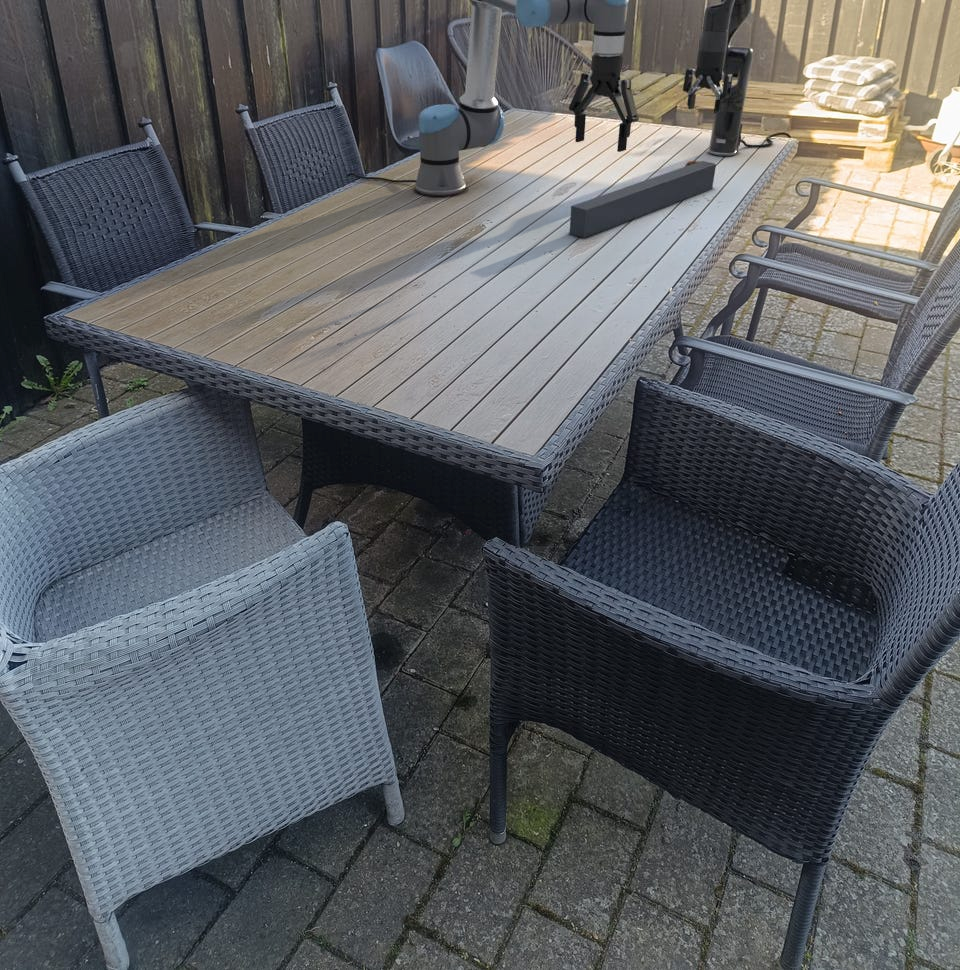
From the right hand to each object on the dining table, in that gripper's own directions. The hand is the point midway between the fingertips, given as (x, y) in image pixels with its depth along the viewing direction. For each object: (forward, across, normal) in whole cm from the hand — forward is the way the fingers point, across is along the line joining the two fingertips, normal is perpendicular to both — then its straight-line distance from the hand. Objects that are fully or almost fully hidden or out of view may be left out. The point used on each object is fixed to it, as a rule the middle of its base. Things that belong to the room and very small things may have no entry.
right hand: (703, 110), depth 243 cm
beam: (+23, 0, +24) cm, 33 cm away
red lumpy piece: (+23, +10, -16) cm, 30 cm away
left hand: (+1, 0, +48) cm, 48 cm away
